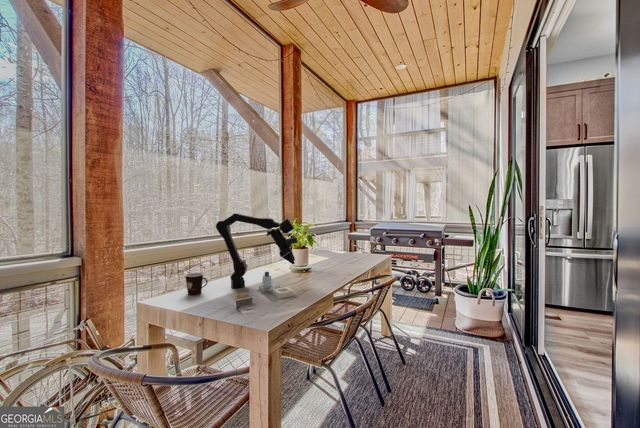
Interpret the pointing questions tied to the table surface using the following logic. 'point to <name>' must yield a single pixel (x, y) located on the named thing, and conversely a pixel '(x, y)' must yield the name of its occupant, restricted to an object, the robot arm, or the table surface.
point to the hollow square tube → (266, 289)
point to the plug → (266, 280)
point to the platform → (243, 299)
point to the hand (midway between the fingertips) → (294, 262)
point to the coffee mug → (194, 283)
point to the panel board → (272, 296)
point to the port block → (283, 292)
